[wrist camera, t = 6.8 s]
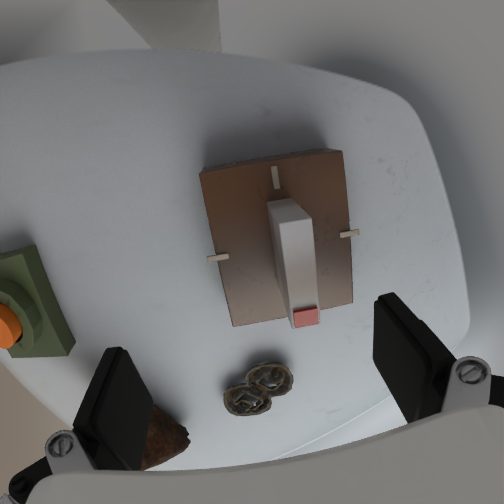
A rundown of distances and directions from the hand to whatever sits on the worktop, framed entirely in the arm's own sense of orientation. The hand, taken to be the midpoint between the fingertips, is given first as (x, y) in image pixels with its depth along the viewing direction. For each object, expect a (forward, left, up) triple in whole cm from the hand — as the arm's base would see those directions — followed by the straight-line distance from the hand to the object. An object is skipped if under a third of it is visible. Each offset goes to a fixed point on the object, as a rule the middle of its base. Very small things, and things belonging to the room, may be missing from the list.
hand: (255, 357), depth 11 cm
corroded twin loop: (+15, -1, -13) cm, 20 cm away
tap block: (0, +3, -13) cm, 14 cm away
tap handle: (0, +3, -10) cm, 11 cm away
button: (+2, -21, -10) cm, 23 cm away
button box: (+2, -21, -13) cm, 25 cm away
